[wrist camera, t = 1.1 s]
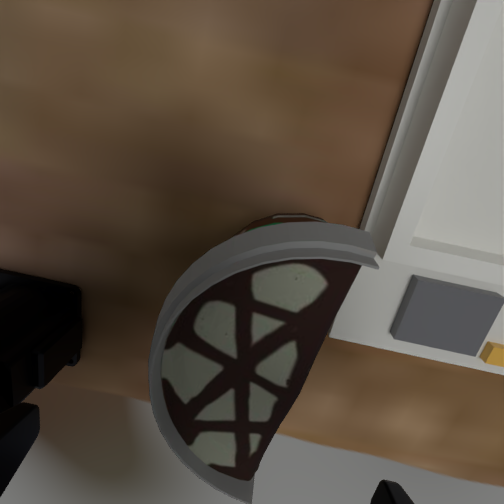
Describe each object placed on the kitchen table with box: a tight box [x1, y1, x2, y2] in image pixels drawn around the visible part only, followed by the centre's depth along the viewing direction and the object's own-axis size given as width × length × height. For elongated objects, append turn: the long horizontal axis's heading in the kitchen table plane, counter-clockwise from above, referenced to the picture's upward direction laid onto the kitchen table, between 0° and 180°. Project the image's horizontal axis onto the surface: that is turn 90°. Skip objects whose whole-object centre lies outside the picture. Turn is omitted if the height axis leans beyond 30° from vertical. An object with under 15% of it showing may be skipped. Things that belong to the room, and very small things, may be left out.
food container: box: [148, 214, 379, 504], centre depth 16 cm, size 12×6×10 cm, turn 160°
